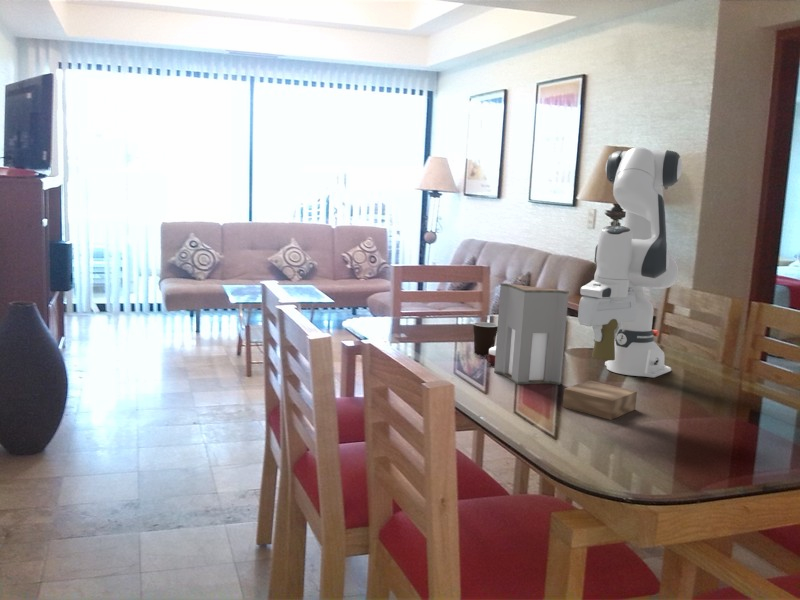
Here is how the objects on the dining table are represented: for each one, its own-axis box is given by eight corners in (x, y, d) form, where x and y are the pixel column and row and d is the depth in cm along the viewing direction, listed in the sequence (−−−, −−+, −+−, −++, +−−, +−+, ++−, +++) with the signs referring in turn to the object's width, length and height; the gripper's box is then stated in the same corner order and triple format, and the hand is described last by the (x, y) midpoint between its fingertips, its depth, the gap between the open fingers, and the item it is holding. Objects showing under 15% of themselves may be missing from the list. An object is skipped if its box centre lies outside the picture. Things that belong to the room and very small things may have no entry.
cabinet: (560, 383, 228) (568, 291, 223) (549, 390, 219) (557, 294, 215) (496, 371, 238) (502, 283, 234) (483, 377, 230) (489, 285, 225)
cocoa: (486, 367, 244) (488, 331, 242) (482, 362, 250) (483, 326, 248) (515, 367, 245) (517, 330, 243) (510, 361, 251) (512, 326, 249)
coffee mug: (488, 357, 258) (490, 328, 256) (466, 352, 263) (468, 324, 261) (505, 351, 267) (507, 323, 265) (483, 347, 272) (485, 320, 270)
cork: (587, 356, 202) (591, 315, 200) (599, 354, 206) (603, 314, 205) (607, 361, 198) (612, 319, 196) (619, 359, 202) (624, 318, 200)
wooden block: (588, 397, 214) (589, 380, 213) (635, 409, 205) (637, 391, 204) (562, 406, 204) (564, 388, 203) (610, 419, 194) (612, 400, 194)
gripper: (624, 285, 208) (619, 334, 210) (576, 288, 196) (571, 341, 198) (644, 288, 203) (639, 339, 205) (596, 292, 191) (590, 346, 193)
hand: (605, 340), depth 201 cm, fingers closed on cork, 4 cm apart
